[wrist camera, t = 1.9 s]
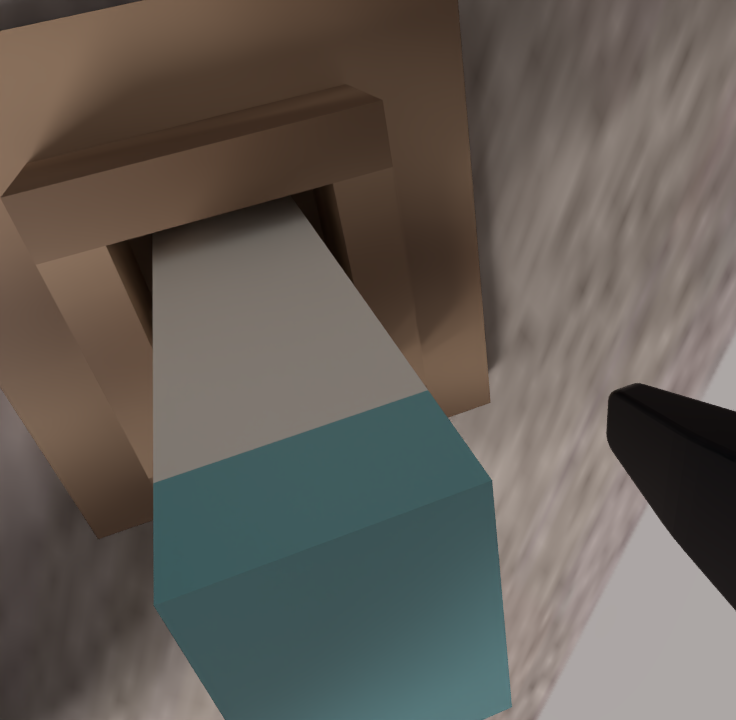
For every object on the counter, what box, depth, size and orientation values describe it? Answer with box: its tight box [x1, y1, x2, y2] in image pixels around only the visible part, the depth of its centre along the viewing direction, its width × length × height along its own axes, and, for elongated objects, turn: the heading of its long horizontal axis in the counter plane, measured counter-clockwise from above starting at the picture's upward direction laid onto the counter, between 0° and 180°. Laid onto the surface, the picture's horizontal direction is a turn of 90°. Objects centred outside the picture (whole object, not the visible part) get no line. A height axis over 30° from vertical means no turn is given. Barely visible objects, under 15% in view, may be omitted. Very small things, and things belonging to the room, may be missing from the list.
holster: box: [0, 0, 490, 539], centre depth 14 cm, size 12×12×4 cm
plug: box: [152, 195, 512, 720], centre depth 10 cm, size 4×3×10 cm
